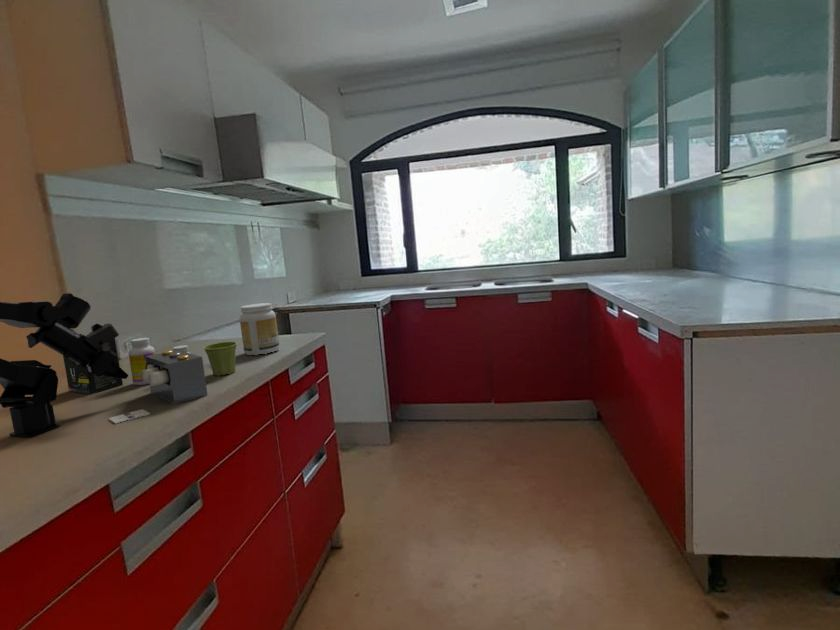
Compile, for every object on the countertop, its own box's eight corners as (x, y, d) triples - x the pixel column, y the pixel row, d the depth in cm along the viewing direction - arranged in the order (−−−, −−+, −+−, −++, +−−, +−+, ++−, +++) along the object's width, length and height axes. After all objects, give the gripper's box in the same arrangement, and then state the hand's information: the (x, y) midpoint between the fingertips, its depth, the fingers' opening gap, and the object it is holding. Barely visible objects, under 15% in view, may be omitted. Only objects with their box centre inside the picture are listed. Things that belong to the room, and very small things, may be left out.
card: (115, 424, 107) (114, 422, 107) (109, 419, 110) (108, 417, 110) (149, 414, 112) (149, 412, 112) (142, 410, 115) (142, 408, 115)
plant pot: (230, 377, 141) (226, 348, 139) (200, 378, 142) (196, 349, 141) (246, 368, 150) (243, 341, 148) (219, 369, 151) (215, 342, 150)
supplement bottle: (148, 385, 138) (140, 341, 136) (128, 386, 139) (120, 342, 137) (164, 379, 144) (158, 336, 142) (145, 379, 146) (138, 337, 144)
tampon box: (68, 391, 138) (58, 341, 136) (101, 382, 146) (93, 334, 144) (90, 394, 133) (80, 342, 131) (123, 385, 141) (115, 335, 139)
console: (174, 404, 118) (168, 361, 117) (151, 392, 130) (144, 354, 129) (207, 395, 124) (201, 354, 123) (182, 384, 136) (176, 347, 134)
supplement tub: (283, 347, 179) (277, 301, 177) (275, 354, 167) (269, 305, 165) (249, 350, 179) (243, 304, 176) (239, 357, 167) (233, 308, 164)
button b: (146, 384, 120) (144, 371, 120) (142, 382, 122) (140, 369, 122) (161, 380, 123) (159, 368, 122) (157, 378, 125) (155, 366, 124)
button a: (154, 387, 116) (152, 374, 116) (149, 385, 118) (147, 372, 118) (169, 383, 119) (167, 370, 118) (165, 381, 121) (163, 369, 120)
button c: (152, 377, 126) (150, 365, 125) (148, 376, 128) (146, 364, 128) (166, 374, 128) (164, 362, 128) (162, 372, 131) (160, 361, 130)
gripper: (100, 316, 110) (160, 354, 119) (83, 312, 124) (138, 347, 133) (64, 357, 106) (128, 393, 115) (50, 349, 119) (109, 382, 128)
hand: (126, 377), depth 123 cm, fingers closed
